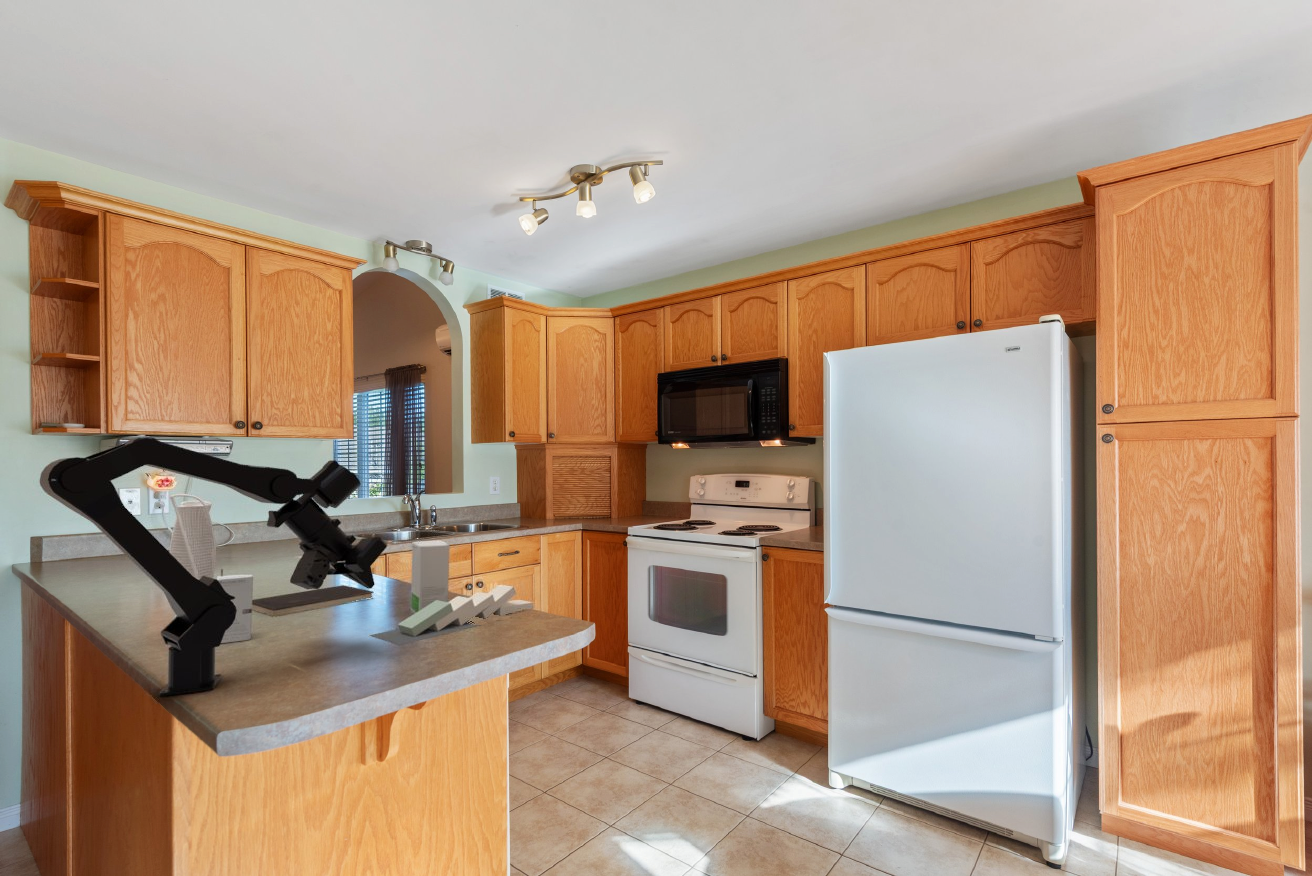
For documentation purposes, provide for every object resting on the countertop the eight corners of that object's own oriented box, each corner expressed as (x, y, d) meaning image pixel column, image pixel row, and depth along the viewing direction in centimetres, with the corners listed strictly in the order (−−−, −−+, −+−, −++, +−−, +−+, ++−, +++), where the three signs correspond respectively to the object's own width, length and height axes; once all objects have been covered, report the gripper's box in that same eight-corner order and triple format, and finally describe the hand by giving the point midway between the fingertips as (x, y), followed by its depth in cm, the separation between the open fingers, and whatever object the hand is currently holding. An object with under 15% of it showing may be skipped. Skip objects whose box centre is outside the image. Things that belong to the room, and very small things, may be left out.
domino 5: (500, 607, 138) (533, 602, 145) (486, 604, 141) (519, 599, 148) (500, 615, 137) (533, 610, 144) (485, 612, 141) (518, 607, 148)
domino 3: (458, 617, 130) (492, 594, 136) (443, 614, 133) (478, 591, 139) (460, 625, 130) (495, 601, 137) (446, 622, 133) (480, 599, 140)
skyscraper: (186, 643, 122) (188, 494, 123) (156, 640, 124) (158, 494, 125) (229, 631, 130) (230, 492, 131) (200, 629, 132) (201, 492, 133)
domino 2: (435, 622, 126) (472, 598, 132) (421, 619, 129) (457, 595, 135) (438, 630, 126) (474, 606, 133) (424, 627, 129) (460, 603, 136)
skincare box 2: (410, 611, 146) (410, 541, 146) (440, 607, 149) (440, 539, 150) (419, 618, 139) (419, 545, 139) (450, 614, 142) (450, 542, 143)
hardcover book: (373, 600, 160) (373, 591, 160) (273, 619, 142) (273, 609, 142) (342, 593, 170) (342, 584, 170) (244, 610, 152) (244, 600, 152)
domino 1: (411, 628, 122) (450, 603, 128) (397, 624, 125) (436, 599, 132) (414, 636, 122) (453, 610, 129) (400, 632, 125) (439, 607, 132)
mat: (399, 647, 117) (399, 644, 117) (369, 637, 124) (369, 635, 124) (514, 618, 137) (514, 616, 137) (483, 611, 144) (483, 610, 144)
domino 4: (482, 611, 134) (513, 586, 141) (468, 608, 137) (499, 584, 144) (485, 619, 135) (516, 593, 141) (471, 615, 138) (502, 591, 144)
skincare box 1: (213, 645, 120) (214, 579, 120) (214, 639, 124) (215, 576, 124) (252, 639, 123) (253, 575, 124) (252, 634, 127) (252, 572, 128)
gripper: (250, 564, 111) (312, 622, 118) (311, 560, 101) (374, 623, 108) (297, 518, 118) (352, 575, 126) (358, 510, 109) (414, 572, 116)
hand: (371, 586), depth 119 cm, fingers closed
